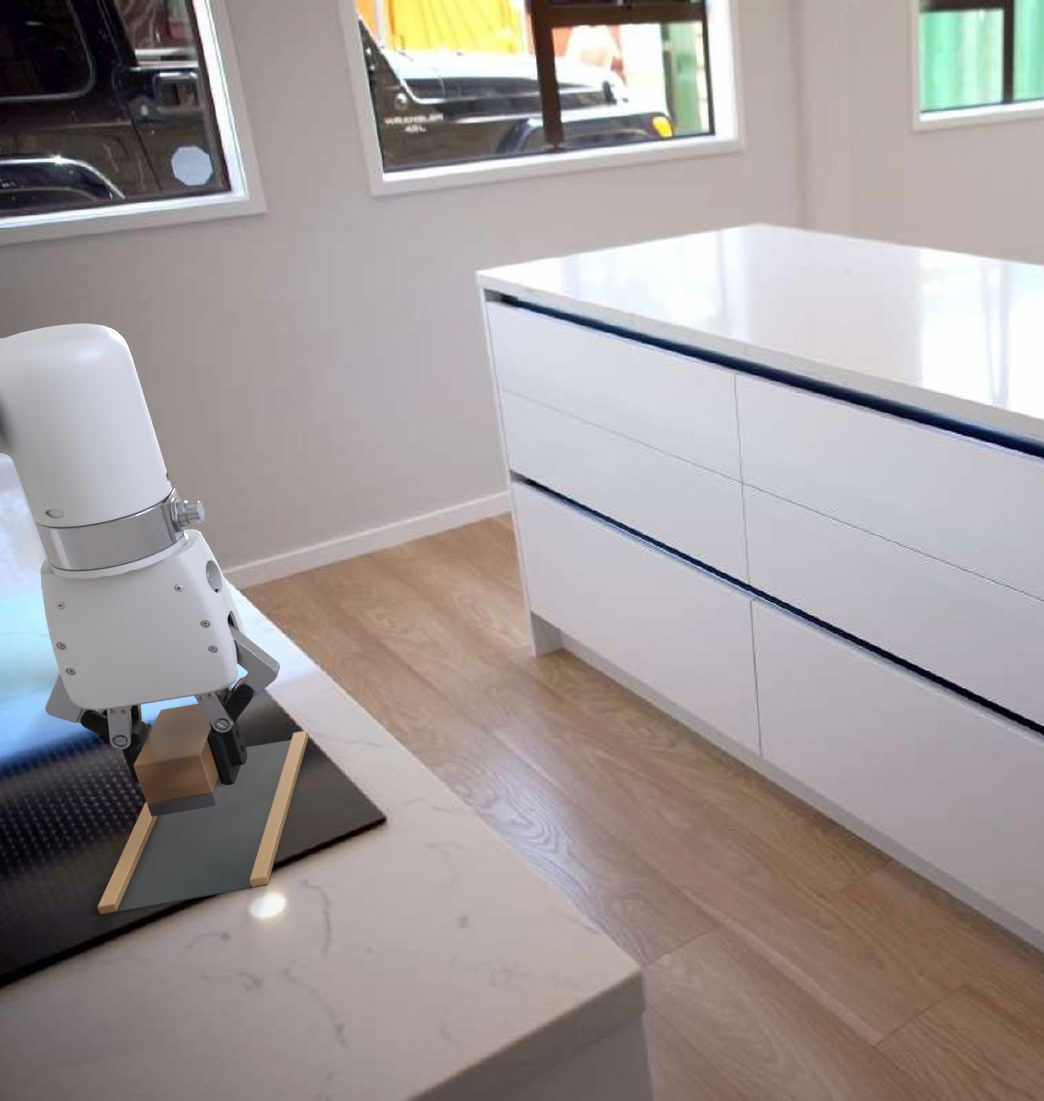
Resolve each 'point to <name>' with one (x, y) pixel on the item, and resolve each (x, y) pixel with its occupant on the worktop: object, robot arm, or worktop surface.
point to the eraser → (178, 763)
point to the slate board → (211, 837)
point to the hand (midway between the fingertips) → (195, 777)
